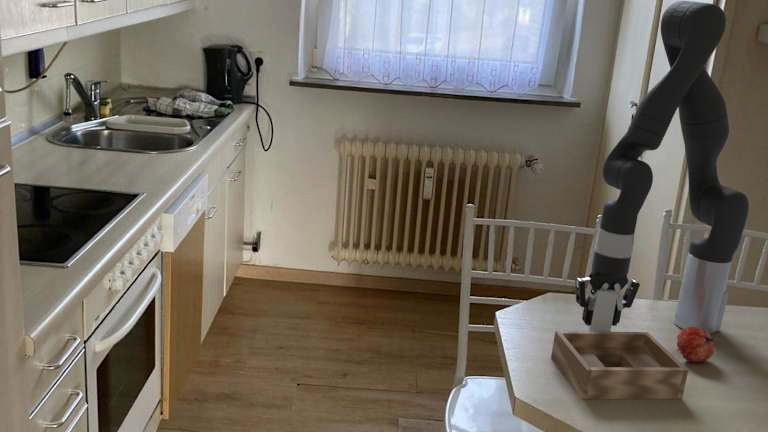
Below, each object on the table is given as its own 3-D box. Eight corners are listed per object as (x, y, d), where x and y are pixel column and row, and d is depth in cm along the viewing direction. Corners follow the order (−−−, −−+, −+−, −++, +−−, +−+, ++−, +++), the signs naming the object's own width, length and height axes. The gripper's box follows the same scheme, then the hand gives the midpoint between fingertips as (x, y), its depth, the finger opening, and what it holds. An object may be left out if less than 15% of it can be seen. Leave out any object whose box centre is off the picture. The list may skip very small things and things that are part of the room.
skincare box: (608, 346, 165) (618, 294, 162) (587, 342, 166) (597, 291, 163) (606, 334, 171) (615, 283, 168) (586, 331, 172) (595, 280, 168)
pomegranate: (666, 365, 164) (699, 357, 155) (661, 331, 166) (693, 321, 158) (694, 367, 166) (728, 358, 158) (689, 333, 169) (722, 323, 160)
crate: (642, 358, 161) (647, 332, 159) (682, 398, 146) (688, 370, 144) (550, 357, 158) (555, 331, 156) (581, 399, 143) (587, 369, 141)
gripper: (637, 245, 167) (623, 317, 172) (574, 243, 165) (561, 316, 170) (653, 257, 160) (638, 332, 165) (588, 255, 158) (575, 331, 163)
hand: (599, 323), depth 167 cm, fingers closed on skincare box, 5 cm apart
